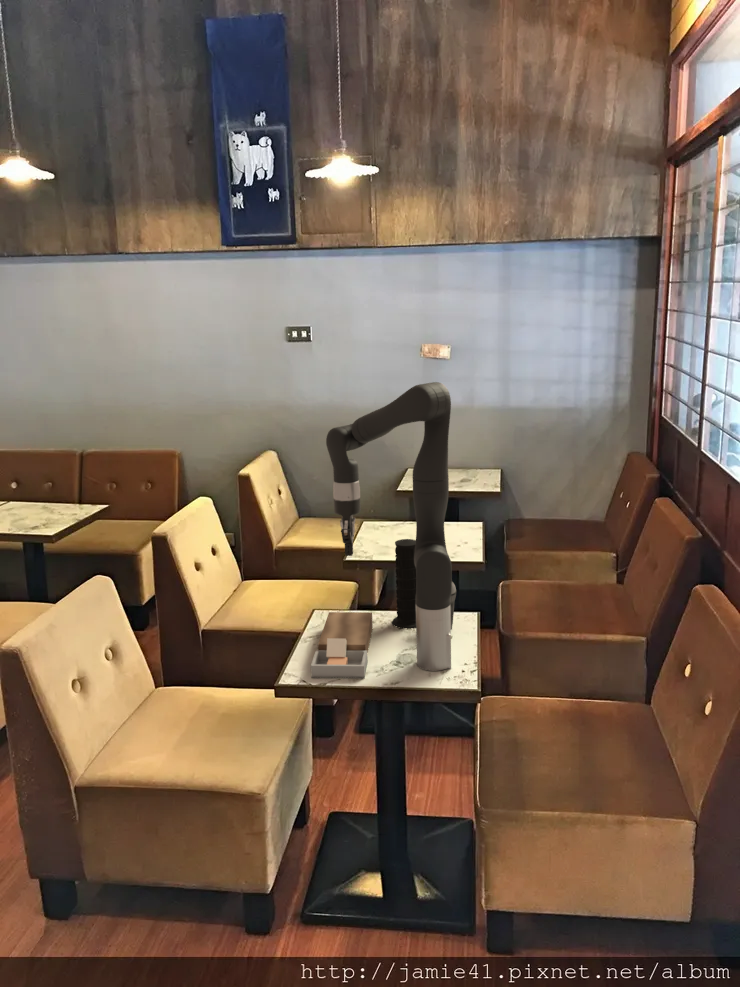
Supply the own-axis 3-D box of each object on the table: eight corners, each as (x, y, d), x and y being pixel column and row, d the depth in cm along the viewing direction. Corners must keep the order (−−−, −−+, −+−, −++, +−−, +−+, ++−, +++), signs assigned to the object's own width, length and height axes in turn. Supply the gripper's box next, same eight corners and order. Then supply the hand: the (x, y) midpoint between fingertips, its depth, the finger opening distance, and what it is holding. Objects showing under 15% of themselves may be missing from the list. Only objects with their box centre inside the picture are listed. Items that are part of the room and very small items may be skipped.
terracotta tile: (345, 665, 214) (345, 674, 215) (347, 657, 219) (347, 666, 219) (326, 665, 214) (326, 674, 215) (329, 657, 219) (329, 665, 220)
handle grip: (409, 613, 256) (385, 622, 249) (407, 532, 249) (382, 539, 243) (431, 622, 248) (407, 631, 242) (430, 538, 242) (405, 546, 236)
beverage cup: (429, 632, 241) (428, 567, 236) (435, 622, 248) (434, 559, 243) (454, 634, 239) (453, 569, 234) (458, 624, 246) (458, 561, 241)
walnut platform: (372, 628, 245) (372, 612, 244) (365, 661, 223) (365, 644, 222) (329, 627, 246) (329, 612, 245) (318, 661, 224) (317, 644, 223)
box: (367, 662, 223) (367, 650, 222) (364, 678, 213) (364, 666, 212) (316, 661, 224) (316, 650, 223) (311, 677, 215) (310, 665, 214)
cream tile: (346, 641, 223) (345, 638, 220) (345, 659, 221) (344, 656, 218) (328, 640, 223) (327, 638, 221) (327, 658, 221) (326, 656, 219)
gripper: (357, 502, 223) (360, 562, 227) (362, 490, 236) (364, 548, 240) (330, 502, 224) (333, 562, 228) (336, 490, 237) (338, 548, 241)
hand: (349, 554), depth 234 cm, fingers closed
